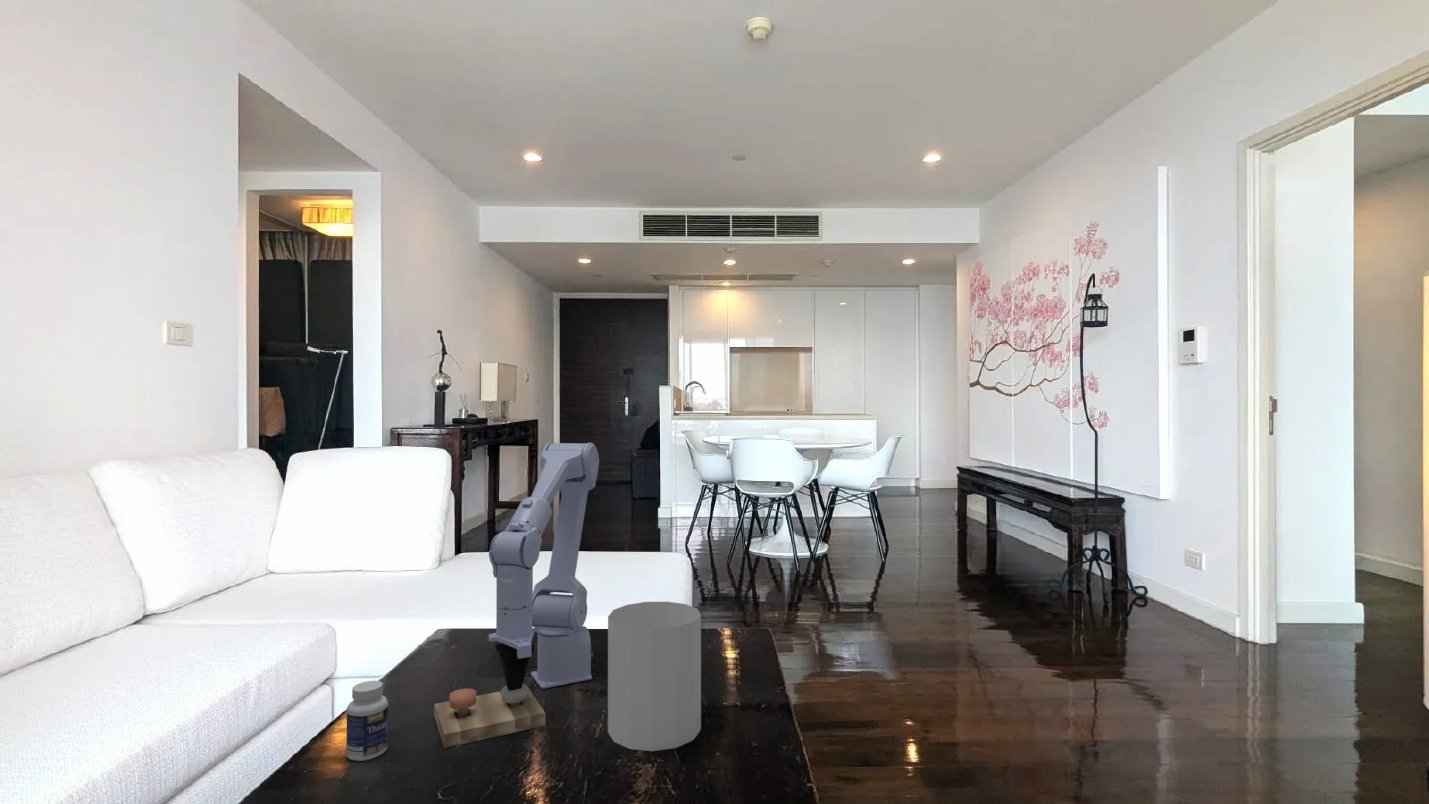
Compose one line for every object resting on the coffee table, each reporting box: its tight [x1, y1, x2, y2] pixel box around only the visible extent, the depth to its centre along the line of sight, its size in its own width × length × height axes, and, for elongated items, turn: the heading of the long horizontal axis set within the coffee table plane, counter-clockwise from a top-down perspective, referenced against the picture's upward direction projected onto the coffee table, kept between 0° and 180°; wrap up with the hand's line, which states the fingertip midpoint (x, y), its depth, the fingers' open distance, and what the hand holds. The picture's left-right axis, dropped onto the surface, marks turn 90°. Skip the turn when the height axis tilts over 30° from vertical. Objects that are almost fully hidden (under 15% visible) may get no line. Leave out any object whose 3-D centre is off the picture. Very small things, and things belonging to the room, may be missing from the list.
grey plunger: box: [501, 683, 528, 707], centre depth 112 cm, size 4×4×4 cm
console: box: [433, 686, 546, 749], centre depth 110 cm, size 15×12×2 cm
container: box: [607, 601, 702, 752], centre depth 108 cm, size 14×14×18 cm
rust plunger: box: [448, 687, 477, 718], centre depth 108 cm, size 4×4×4 cm
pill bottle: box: [345, 680, 389, 762], centre depth 100 cm, size 5×5×10 cm
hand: (514, 688), depth 112 cm, fingers closed, pressing on grey plunger
